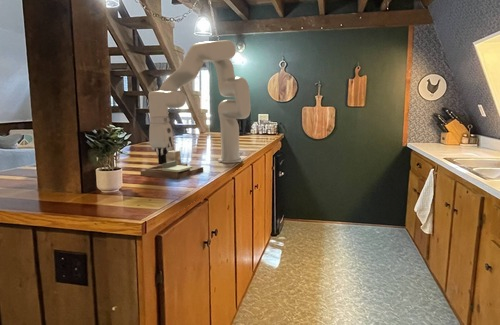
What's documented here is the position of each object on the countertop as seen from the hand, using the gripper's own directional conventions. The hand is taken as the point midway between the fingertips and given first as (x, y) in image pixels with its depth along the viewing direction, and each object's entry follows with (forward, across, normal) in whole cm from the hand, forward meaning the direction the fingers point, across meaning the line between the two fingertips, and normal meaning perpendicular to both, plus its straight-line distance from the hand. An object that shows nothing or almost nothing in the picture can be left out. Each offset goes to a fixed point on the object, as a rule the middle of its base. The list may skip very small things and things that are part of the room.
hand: (162, 163), depth 154 cm
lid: (+2, -9, +1) cm, 9 cm away
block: (+3, +1, -8) cm, 9 cm away
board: (+5, -2, -4) cm, 6 cm away
